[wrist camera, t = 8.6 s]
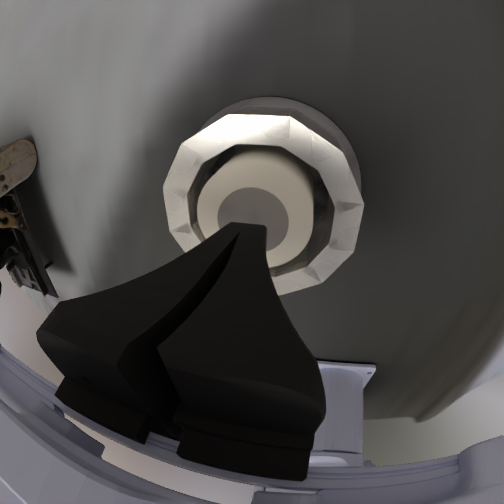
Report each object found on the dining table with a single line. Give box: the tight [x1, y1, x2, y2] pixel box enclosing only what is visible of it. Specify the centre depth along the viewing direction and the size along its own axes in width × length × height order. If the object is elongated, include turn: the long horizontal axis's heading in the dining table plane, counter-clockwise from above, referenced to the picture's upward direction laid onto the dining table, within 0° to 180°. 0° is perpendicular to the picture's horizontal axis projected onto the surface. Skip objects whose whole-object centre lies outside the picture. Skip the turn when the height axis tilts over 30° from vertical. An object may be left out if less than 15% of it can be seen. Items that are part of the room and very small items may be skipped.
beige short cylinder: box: [197, 144, 314, 267], centre depth 13 cm, size 5×5×4 cm
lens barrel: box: [163, 96, 364, 295], centre depth 14 cm, size 10×10×4 cm
